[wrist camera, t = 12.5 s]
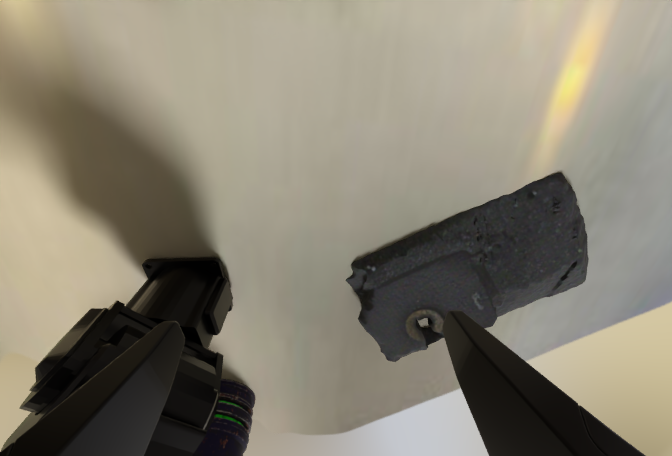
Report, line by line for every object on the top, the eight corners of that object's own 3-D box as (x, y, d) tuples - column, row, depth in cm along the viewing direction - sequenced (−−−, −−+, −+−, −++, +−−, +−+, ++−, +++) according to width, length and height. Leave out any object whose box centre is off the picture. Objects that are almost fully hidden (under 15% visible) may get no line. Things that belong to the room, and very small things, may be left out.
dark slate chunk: (573, 278, 28) (617, 312, 24) (389, 347, 32) (400, 386, 28) (568, 156, 20) (630, 176, 16) (331, 267, 25) (334, 304, 21)
